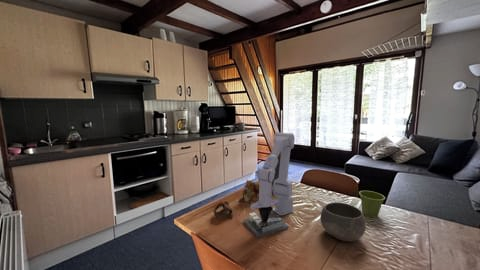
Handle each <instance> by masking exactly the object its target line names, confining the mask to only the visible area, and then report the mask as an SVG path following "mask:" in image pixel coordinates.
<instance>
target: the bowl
mask: <svg viewBox="0 0 480 270" xmlns="http://www.w3.org/2000/svg"><path fill="white" fill-rule="evenodd" d="M320 223H321V225H322V227H323V229H324V231H326V232H327V233H328V234H329V235H330V236H332V237H334V238H336V239H338V240H340V241H343V242H354V241H357V240H359V239H361V238H363V236H364V234H365V232H366V228H367V227H366V225H367V224H366V223H367V222H366V218H365V215H364V214H363V213H362V209H359V208H358V207H356V206H354V205H352V204H348V203H345V202H329V203H327V204H325V205H324V206H323V207H322V210H321V212H320Z"/></svg>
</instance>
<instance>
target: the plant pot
mask: <svg viewBox="0 0 480 270" xmlns="http://www.w3.org/2000/svg"><path fill="white" fill-rule="evenodd" d="M358 194H359V196H360V202H361V203H360V204H361V211H362V213H363V216H364V217H368V218H378V216H379V213H380V211H381V208H382V204H383V203H384V201H385V199H386V197H385V196H384V195H383V194H381V193H378V192H375V191H372V190H360V191H359V192H358Z"/></svg>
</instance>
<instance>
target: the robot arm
mask: <svg viewBox="0 0 480 270" xmlns="http://www.w3.org/2000/svg"><path fill="white" fill-rule="evenodd" d="M295 138H296V137H295V134H294V132H280V131H279V132H278V131H276V132H275V133H274V135H273V143H274V144H273V146H272V148H271V149H272V150H271V152H270V154H268V155H267V156H266V158H265V160H266V161H264V162H263V165H262V167H261V168H259V169H258V171H257V174H256V177H257V180H258V181H257V182H258V183H257V184H259V193H258V198H259V199H258V201H256V202H255V203H254V204H250V210H251V211H255V210H256V209H257V210H258V212H259V215H261V220H262V221H263V222H265V221H266V222H267V221H268V217H269V215H270V213H271V212H272V211H273V212H275V213H276V215H279V217H280V216H284V215H287V214H291V213H294V212H295V210H294V198H293V196H292V194H293V183H292V182H291V180H289V179H288V177H289V176H288V175H289V169H290V168H289V167H290V158H291V157H290V156H291V150H292V149H294V147H295ZM278 156H281V159H280V168H279V178H278V179H276V180H274V183H273V187H272V181H273V179H274V175H275V168H276V166H277V163H278V158H277V157H278ZM280 183H281V184H280ZM272 193H273V195H274V196H275V197H274V199H272ZM272 206H274V207H272Z"/></svg>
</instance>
